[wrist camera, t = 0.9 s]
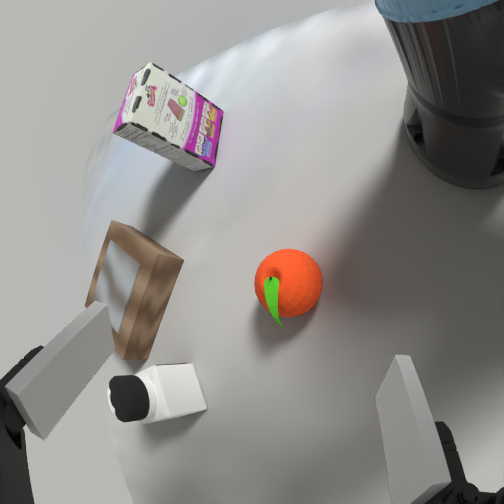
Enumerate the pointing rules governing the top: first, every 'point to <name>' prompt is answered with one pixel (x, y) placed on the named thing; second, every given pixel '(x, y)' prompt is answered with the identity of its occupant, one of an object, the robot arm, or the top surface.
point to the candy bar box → (170, 119)
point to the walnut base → (133, 287)
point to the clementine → (288, 283)
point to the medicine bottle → (156, 394)
